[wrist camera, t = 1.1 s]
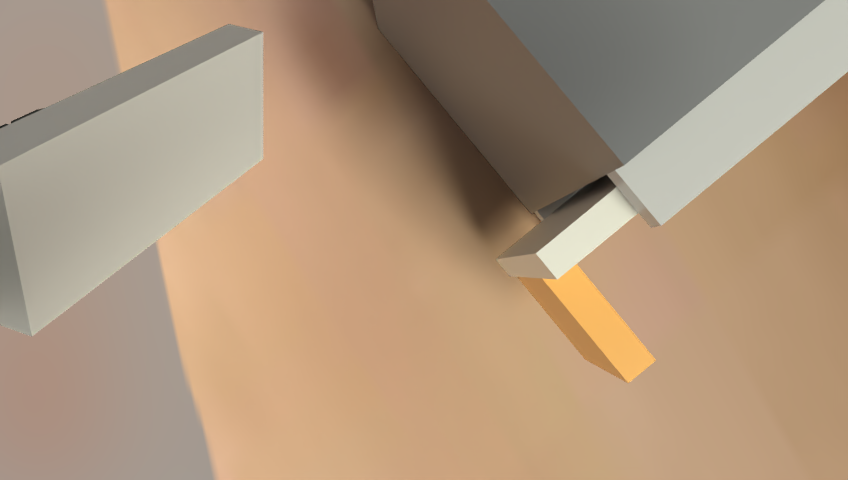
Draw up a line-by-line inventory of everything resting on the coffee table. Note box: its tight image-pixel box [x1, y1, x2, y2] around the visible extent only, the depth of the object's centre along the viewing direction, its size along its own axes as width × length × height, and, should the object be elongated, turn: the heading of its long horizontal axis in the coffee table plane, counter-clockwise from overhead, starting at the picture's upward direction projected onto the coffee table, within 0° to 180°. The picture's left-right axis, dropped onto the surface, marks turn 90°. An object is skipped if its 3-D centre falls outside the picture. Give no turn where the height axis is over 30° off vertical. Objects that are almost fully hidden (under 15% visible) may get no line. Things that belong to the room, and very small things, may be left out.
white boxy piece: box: [496, 175, 656, 383], centre depth 30 cm, size 6×12×13 cm, turn 129°
